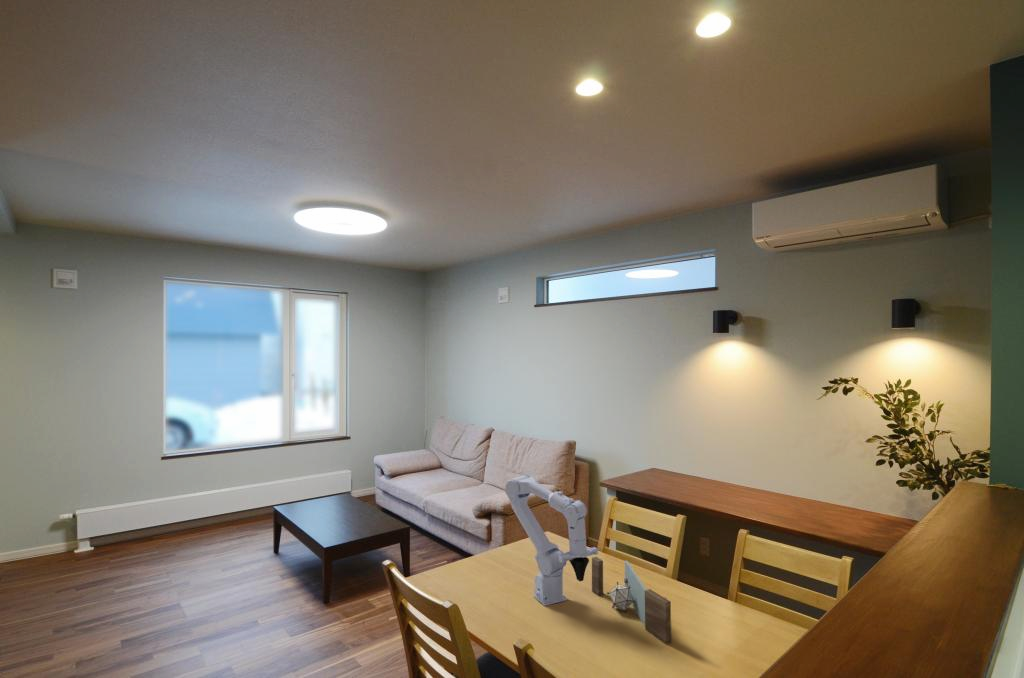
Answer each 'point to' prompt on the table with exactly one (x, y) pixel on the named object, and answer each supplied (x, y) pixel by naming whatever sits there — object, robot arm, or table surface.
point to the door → (635, 590)
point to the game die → (621, 597)
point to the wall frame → (654, 605)
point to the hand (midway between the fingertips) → (580, 580)
